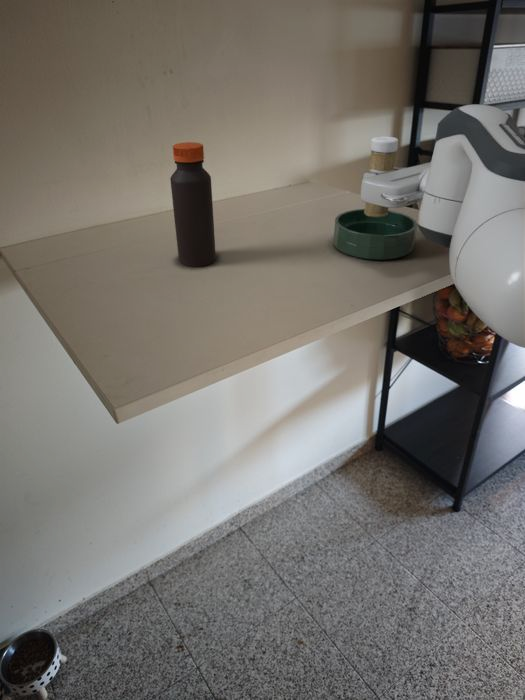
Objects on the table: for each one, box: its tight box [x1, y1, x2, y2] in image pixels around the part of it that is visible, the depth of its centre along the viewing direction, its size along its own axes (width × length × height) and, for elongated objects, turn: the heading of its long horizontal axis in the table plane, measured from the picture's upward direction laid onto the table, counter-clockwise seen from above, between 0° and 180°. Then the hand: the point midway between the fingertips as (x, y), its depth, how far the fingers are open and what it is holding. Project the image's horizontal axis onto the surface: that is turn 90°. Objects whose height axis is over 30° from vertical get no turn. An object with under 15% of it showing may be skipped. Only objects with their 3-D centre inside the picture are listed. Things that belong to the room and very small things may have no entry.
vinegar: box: [169, 141, 217, 268], centre depth 86 cm, size 7×7×20 cm
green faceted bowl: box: [332, 208, 418, 261], centre depth 95 cm, size 15×15×5 cm
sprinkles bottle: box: [364, 135, 399, 218], centre depth 90 cm, size 5×5×14 cm
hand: (377, 174), depth 90 cm, fingers closed on sprinkles bottle, 4 cm apart
